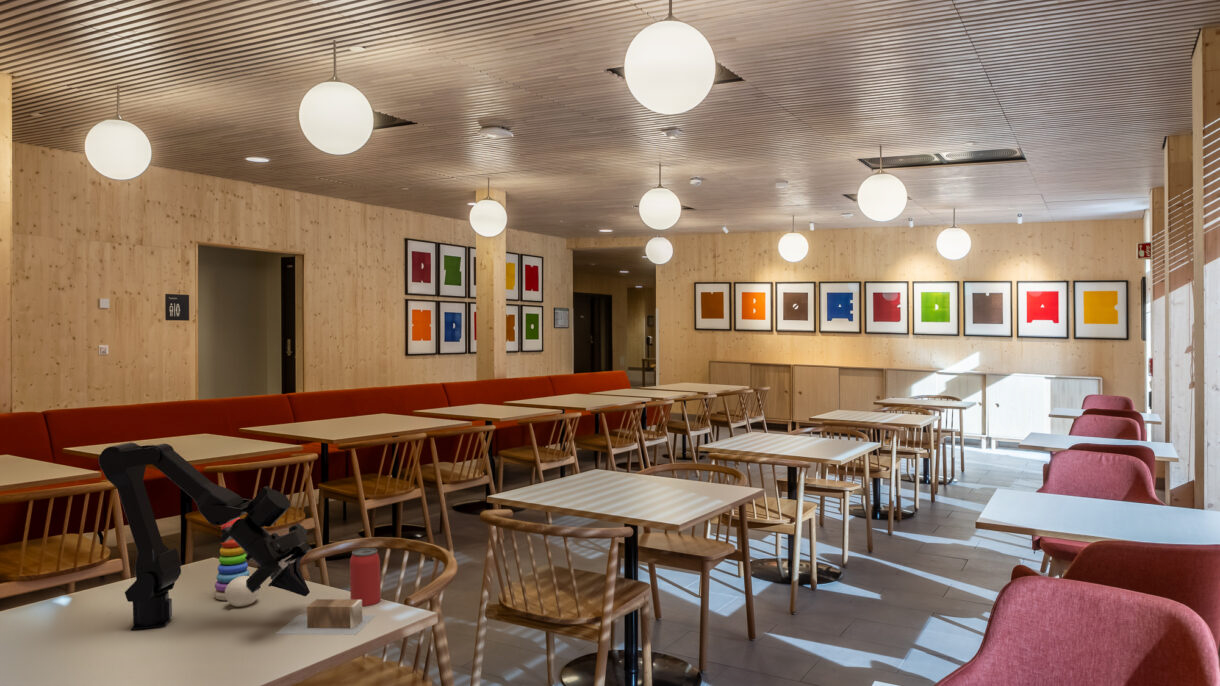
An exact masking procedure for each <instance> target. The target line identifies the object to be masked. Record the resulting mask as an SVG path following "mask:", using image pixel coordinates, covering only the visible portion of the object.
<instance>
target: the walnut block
mask: <svg viewBox="0 0 1220 686" xmlns="http://www.w3.org/2000/svg"><path fill="white" fill-rule="evenodd" d="M306 615H307V628H355V627H356V626H357V625H358V624H359V623H360V622H361V621H362V615H363V607H362V600H351V599H345V598H344V599H340V598H339V599H338V598H337V599H336V598H335V599H331V598H327V599H323V598H322V599H320V598H316V599H315V600H313V601H312V602H311V603H310V604H308V605H307V606H306Z"/></svg>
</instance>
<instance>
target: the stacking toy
mask: <svg viewBox="0 0 1220 686" xmlns="http://www.w3.org/2000/svg"><path fill="white" fill-rule="evenodd" d="M237 519H242V518H241V517H239V518H237ZM237 519H235V520H232V521H230V522H228V523H226V524H223V525H220V531H221V530H222V529H224V528H226V527H230V526H231V525H232V524H233V523H234V522H235V521H236V520H237ZM220 544H221V546H222V547H221V548H220V549H219V553H220V556H219V558H218V561H219V565H218V566H217V571H218V573H217V574H216V580H217V581H216V582H215V584H214V589H215V591H214V593H213V595H214V598H215V599H217V600H219V601H228V600H227V599H226V598H225V588H226V586H227V585H228V584H229V583H230V582H231V581H232V580H233V579H235V578H237V577H240V576H250V571H249V569H248V567H249V564H248V562H247V559H246V558H245V557H246V556H247V555H248V554H247V553H246V552H245V551H244V550H243V549H242V548H241V547H240V546H239V545H238V544H237V543H236V542H235V541H234V540H233V539H230V540H228V541H226V542H224V543H222V542H221V541H220Z"/></svg>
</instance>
